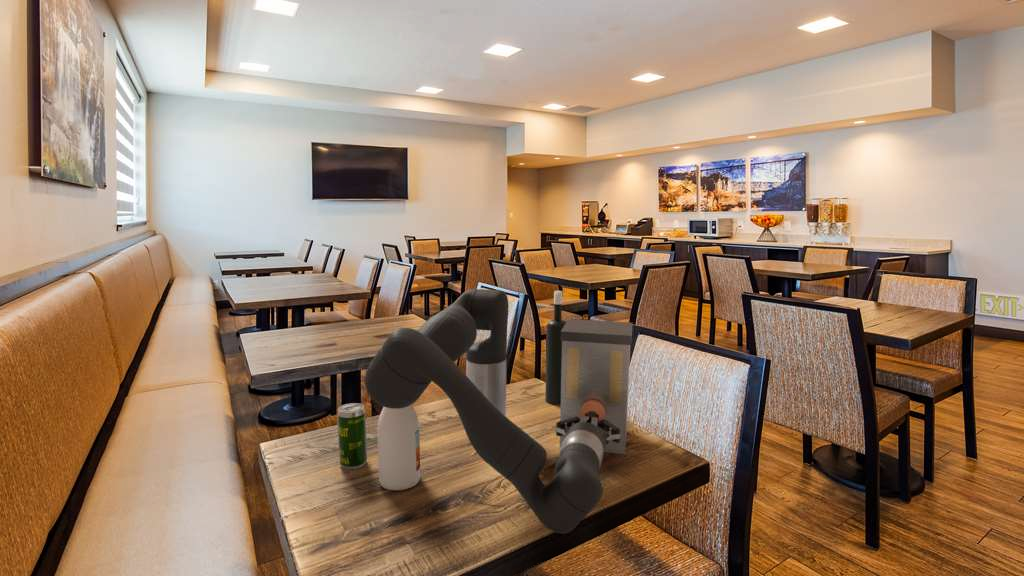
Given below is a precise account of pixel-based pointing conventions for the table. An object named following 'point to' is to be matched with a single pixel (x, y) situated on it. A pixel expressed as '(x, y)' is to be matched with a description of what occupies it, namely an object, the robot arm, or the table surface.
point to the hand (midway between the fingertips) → (592, 415)
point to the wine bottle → (554, 353)
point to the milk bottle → (398, 448)
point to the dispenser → (596, 371)
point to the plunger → (592, 408)
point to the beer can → (352, 436)
